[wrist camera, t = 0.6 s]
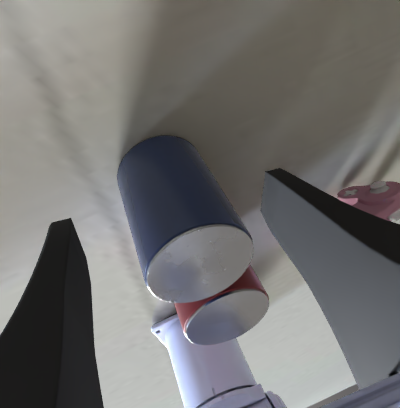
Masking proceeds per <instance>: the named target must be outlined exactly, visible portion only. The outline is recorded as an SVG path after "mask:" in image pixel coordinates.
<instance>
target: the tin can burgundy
mask: <svg viewBox="0 0 400 408" xmlns="http://www.w3.org/2000/svg"><path fill="white" fill-rule="evenodd" d="M174 305H175V308H176V311H177V314H178V317H179V320H180V323H181V326H182V329H183V332H184V335H185V336H186V337H187V338H188V340H189V341H190V342H192V343H194V344H197V345H215V344H219V343H223V342H226V341H229V340H232V339H234V338H236V337H238V336H240V335H242V334H244V333H245V332H247V331H248V330H250V329H251V328H253V327H254V326H255V325H256V324H257V323H258V322H259V321H260V320H261V319H262V318H263V317H264V315H265V314H266V312H267V310H268V307H269V298H268V295H267V293H266V291H265V289H264V287H263V286H262V284H261V282H260V280H259V279H258V277H257V275H256V274H255V272H254V270H253V268H252V267H251V265H250V264H249V266H248V268H247V269H246V271H245V272H244V273H243V274H242V276H241V277H240V278H239V279H238V280H237V281H235V282H234V283H233V284H232V285H230V286H229V287H228V288H226V289H224V290H223V291H221V292H219V293H217V294H215V295H213V296H211V297H208V298H205V299H202V300H199V301H194V302H188V303H174Z"/></svg>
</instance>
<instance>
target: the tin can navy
mask: <svg viewBox="0 0 400 408" xmlns="http://www.w3.org/2000/svg"><path fill="white" fill-rule="evenodd" d="M117 180H118V186H119V189H120V193H121V196H122V200H123V204H124V207H125V211H126V215H127V218H128V222H129V226H130V229H131V233H132V237H133V240H134V244H135V248H136V251H137V255H138V258H139V262H140V266H141V269H142V273H143V277H144V280H145V283H146V286H147V287H148V289H149V290H150V291H151V292H152V293H153V294H154V295H155V296H156V297H158V298H159V299H161V300H164V301H167V302H172V303H188V302H194V301H199V300H202V299H205V298H208V297H211V296H213V295H215V294H217V293H219V292H221V291H223V290H224V289H226V288H228V287H229V286H230V285H232V284H233V283H234V282H235V281H237V280H238V279H239V278H240V277H241V276H242V274H243V273H244V272H245V271H246V269H247V268H248V266H249V264H250V262H251V260H252V257H253V241H252V238H251V235H250V234H249V232H248V230H247V229H246V227H245V226H244V224H243V222H242V221H241V219H240V218H239V216H238V215H237V213H236V211H235V210H234V208H233V207H232V205H231V203H230V202H229V200H228V199H227V197H226V195H225V194H224V192H223V191H222V189H221V188H220V186H219V184H218V183H217V181H216V180H215V178H214V176H213V175H212V173H211V172H210V170H209V168H208V167H207V165H206V164H205V162H204V161H203V159H202V157H201V156H200V154H199V153H198V151H197V150H196V148H195V147H194V146H193V145H192V144H191V143H189V142H188V141H186V140H184V139H182V138H179V137H175V136H156V137H152V138H149V139H146V140H144V141H142V142H140V143H138V144H137V145H136V146H134V147H133V148H132V149H131V150H130V151H129V152H128V153H127V154H126V155H125V157H124V158H123V159H122V161H121V163H120V166H119V169H118V174H117Z"/></svg>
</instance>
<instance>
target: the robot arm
mask: <svg viewBox="0 0 400 408" xmlns="http://www.w3.org/2000/svg"><path fill="white" fill-rule="evenodd" d="M261 213H262V215H263V217H264V219H265V221H266V223H267V225H268V227H269V229H270V231H271V232H272V234H273V235H274V237H275V238H276V240H277V241H278V243H279V244H280V245H281V247H282V248H283V250H284V251H285V252H286V254H287V255H288V257H289V258H290V259H291V261H292V262H293V264H294V265H295V266H296V268H297V269H298V271H299V272H300V274H301V275H302V276H303V278H304V279H305V281H306V283H307V284H308V286H309V288H310V289H311V291H312V293H313V295H314V296H315V298H316V300H317V302H318V304H319V305H320V307H321V309H322V311H323V313H324V315H325V317H326V319H327V321H328V323H329V324H330V326H331V328H332V330H333V332H334V335H335V337H336V339H337V341H338V343H339V345H340V347H341V349H342V351H343V353H344V355H345V358H346V360H347V362H348V364H349V367H350V369H351V371H352V374H353V376H354V378H355V380H356V383H357V385H358V388H359V390H358V391H356V392H354V393H352V394H349V395H347V396H344V397H342V398H340V399H337V400H335V401H333V402H331V403H328V404H326V405H324V406H321V407H319V408H398V407H399V408H400V224H396V223H393V222H391V221H388V220H385V219H382V218H380V217H377V216H375V215H372V214H370V213H367V212H365V211H362V210H360V209H358V208H355V207H353V206H351V205H349V204H347V203H345V202H343V201H341V200H339V199H337V198H335V197H333V196H331V195H329V194H327V193H325V192H323V191H321V190H319V189H318V188H316V187H314V186H312V185H310V184H308V183H307V182H305V181H303V180H301V179H300V178H298V177H296V176H294V175H292V174H290V173H289V172H287V171H285V170H283V169H281V168H278V169H274V170H269V171H265V179H264V187H263V195H262V203H261ZM151 330H152V332H153V333H154V334H155V335H156V336H157V338H158V339H159V340H160V341H161V342H162V343H163V344H164V345H165V346H166V347H167V348H168V351H169V354H170V358H171V361H172V365H173V368H174V372H175V376H176V379H177V383H178V386H179V390H180V393H181V397H182V400H183V404H184V407H185V408H287V407H286V406H285V404H284V402H283V401H282V399H281V398H280V397H279V396H278V395H276V394H274V393H273V392H271V391H267V392H265V393H264V391H263V388H262V386H261V384H258V385H257V384H256V381H255V379H254V377H253V375H252V372H251V370H250V368H249V366H248V363H247V361H246V359H245V357H244V355H243V352H242V350H241V348H240V346H239V343H238V341H237V339H236V338H234V339H232V340H229V341H226V342H223V343H219V344H215V345H197V344H194V343H192V342H190V341H189V340H188V338H187V337H186V336H185V335H184V332H183V329H182V326H181V323H180V320H179V317H178V314H175V315H173V316H171V317H169V318H167V319H165V320H163V321H161V322H159V323H157V324H155V325H153V326H152V327H151ZM0 408H104V407H103V401H102V395H101V389H100V383H99V377H98V370H97V364H96V357H95V348H94V333H93V314H92V295H91V282H90V276H89V270H88V265H87V259H86V256H85V253H84V251H83V248H82V246H81V243H80V240H79V238H78V235H77V233H76V230H75V227H74V225H73V222H72V220H71V218H69V219H65V220H61V221H57V222H53V223H51V225H50V226H49V230H48V233H47V236H46V240H45V243H44V246H43V248H42V251H41V254H40V257H39V259H38V262H37V264H36V266H35V269H34V271H33V274H32V276H31V278H30V281H29V283H28V285H27V287H26V289H25V291H24V293H23V295H22V297H21V299H20V301H19V303H18V305H17V307H16V309H15V311H14V313H13V315H12V316H11V318H10V320H9V322H8V323H7V325H6V327H5V328H4V330H3V332H2V333H1V335H0Z"/></svg>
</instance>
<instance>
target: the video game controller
mask: <svg viewBox="0 0 400 408" xmlns="http://www.w3.org/2000/svg"><path fill="white" fill-rule="evenodd" d="M337 195H338V199H339V200H341V201H343V202H345V203H347V204H349V205H351V206H353V207H355V208H358V209H360V210H362V211H365V212H367V213H370V214H372V215H375V216H377V217H380V218H382V219H385V220H388V221H392V220H399V219H400V183H397V182H384V181H376V182H374V183H372V184H371V185H368V186H353V187H348V188H345V189H343V190H341V191H340V192H339V193H338V194H337Z"/></svg>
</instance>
